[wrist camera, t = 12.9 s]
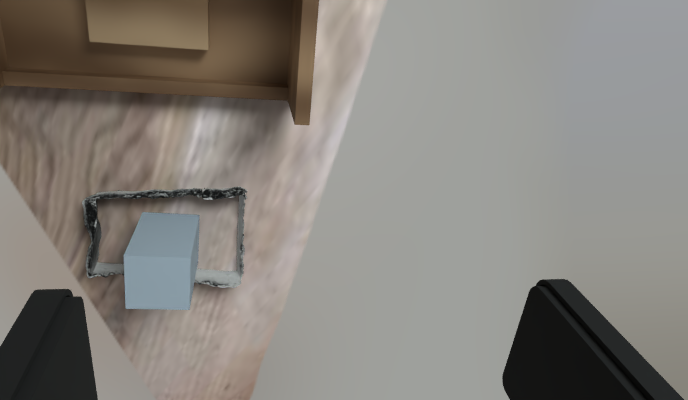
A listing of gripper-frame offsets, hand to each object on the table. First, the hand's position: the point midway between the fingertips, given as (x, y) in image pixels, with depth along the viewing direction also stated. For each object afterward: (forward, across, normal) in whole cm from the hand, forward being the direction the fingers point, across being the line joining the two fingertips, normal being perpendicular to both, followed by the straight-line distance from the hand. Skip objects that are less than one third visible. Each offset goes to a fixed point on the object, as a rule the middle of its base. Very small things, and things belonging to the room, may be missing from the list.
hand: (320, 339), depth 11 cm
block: (+31, +7, +16) cm, 35 cm away
